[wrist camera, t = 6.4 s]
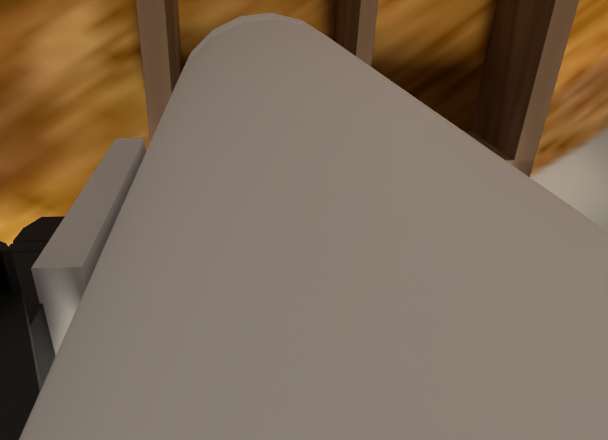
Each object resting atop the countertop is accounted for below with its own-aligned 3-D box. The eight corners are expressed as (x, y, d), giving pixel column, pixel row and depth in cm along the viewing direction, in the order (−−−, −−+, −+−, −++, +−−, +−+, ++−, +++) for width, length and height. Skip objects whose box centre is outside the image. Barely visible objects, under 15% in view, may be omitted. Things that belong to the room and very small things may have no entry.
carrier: (167, 147, 37) (154, 183, 31) (149, -62, 31) (128, -70, 25) (484, 147, 41) (528, 180, 35) (526, -40, 34) (590, -42, 28)
